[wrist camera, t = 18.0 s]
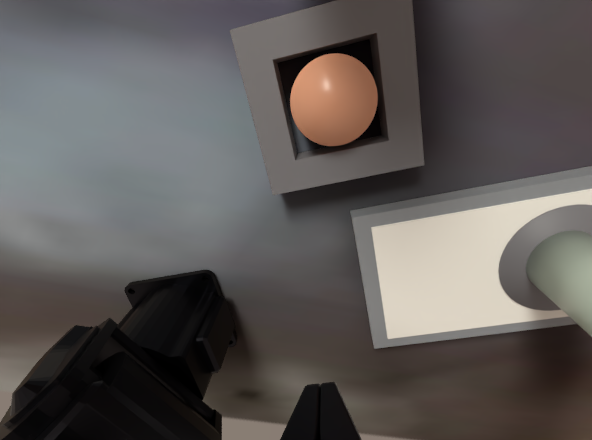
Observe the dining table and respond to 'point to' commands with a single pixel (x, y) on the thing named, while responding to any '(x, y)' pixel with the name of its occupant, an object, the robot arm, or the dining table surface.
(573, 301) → the knob
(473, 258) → the board
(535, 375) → the dining table surface
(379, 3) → the button housing
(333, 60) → the button
